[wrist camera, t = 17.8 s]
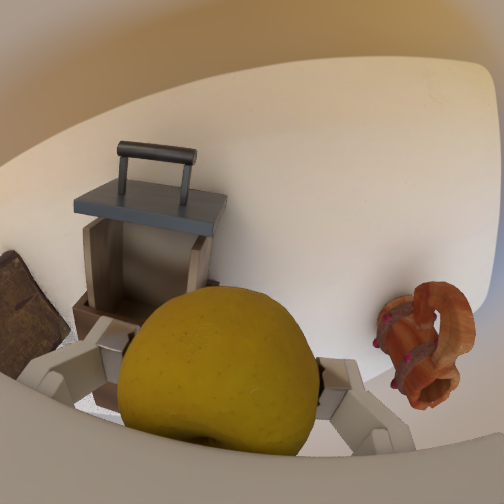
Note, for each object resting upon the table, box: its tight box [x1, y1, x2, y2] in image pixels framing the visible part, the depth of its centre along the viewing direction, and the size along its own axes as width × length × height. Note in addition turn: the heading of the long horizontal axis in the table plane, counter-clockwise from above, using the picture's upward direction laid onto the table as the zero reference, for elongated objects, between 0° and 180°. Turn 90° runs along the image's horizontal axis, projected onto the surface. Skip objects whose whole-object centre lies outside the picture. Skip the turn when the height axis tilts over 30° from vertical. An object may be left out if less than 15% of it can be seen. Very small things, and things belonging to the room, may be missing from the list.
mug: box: [373, 281, 476, 410], centre depth 30 cm, size 15×8×15 cm, turn 178°
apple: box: [117, 286, 320, 456], centre depth 9 cm, size 6×6×8 cm
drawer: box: [74, 141, 228, 322], centre depth 29 cm, size 20×13×9 cm, turn 169°
